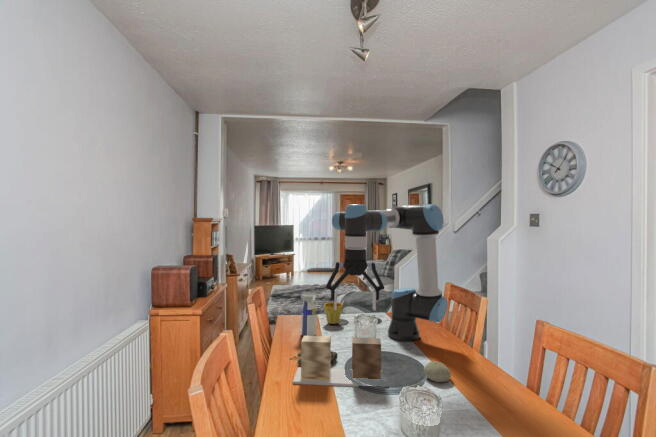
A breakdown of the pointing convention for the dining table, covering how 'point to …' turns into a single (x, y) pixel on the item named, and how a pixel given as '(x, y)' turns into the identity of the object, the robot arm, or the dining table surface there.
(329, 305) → the plant pot
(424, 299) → the robot arm
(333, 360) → the decorative book
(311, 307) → the water bottle
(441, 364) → the sea urchin shell
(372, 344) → the walnut block
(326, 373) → the oak block
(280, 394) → the dining table surface
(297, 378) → the felt mat
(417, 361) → the dining table surface
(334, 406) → the dining table surface
